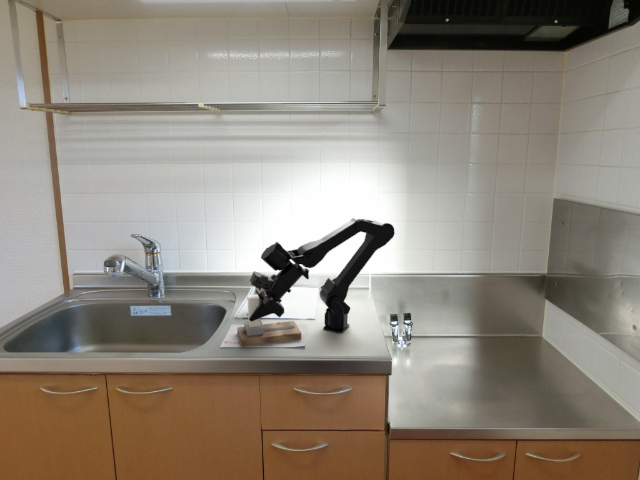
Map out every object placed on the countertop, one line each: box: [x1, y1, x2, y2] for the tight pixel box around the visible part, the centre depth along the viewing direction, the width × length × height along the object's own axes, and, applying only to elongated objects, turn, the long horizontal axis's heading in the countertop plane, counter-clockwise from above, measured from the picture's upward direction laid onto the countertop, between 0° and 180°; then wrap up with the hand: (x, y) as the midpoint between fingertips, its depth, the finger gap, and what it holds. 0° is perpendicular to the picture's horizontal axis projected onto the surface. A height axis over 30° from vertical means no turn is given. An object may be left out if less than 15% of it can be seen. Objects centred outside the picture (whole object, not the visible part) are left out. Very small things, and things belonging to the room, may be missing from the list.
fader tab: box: [243, 294, 264, 336], centre depth 132 cm, size 5×6×11 cm
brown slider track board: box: [236, 320, 302, 347], centre depth 135 cm, size 18×9×2 cm, turn 108°
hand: (249, 318), depth 132 cm, fingers open, 3 cm apart
